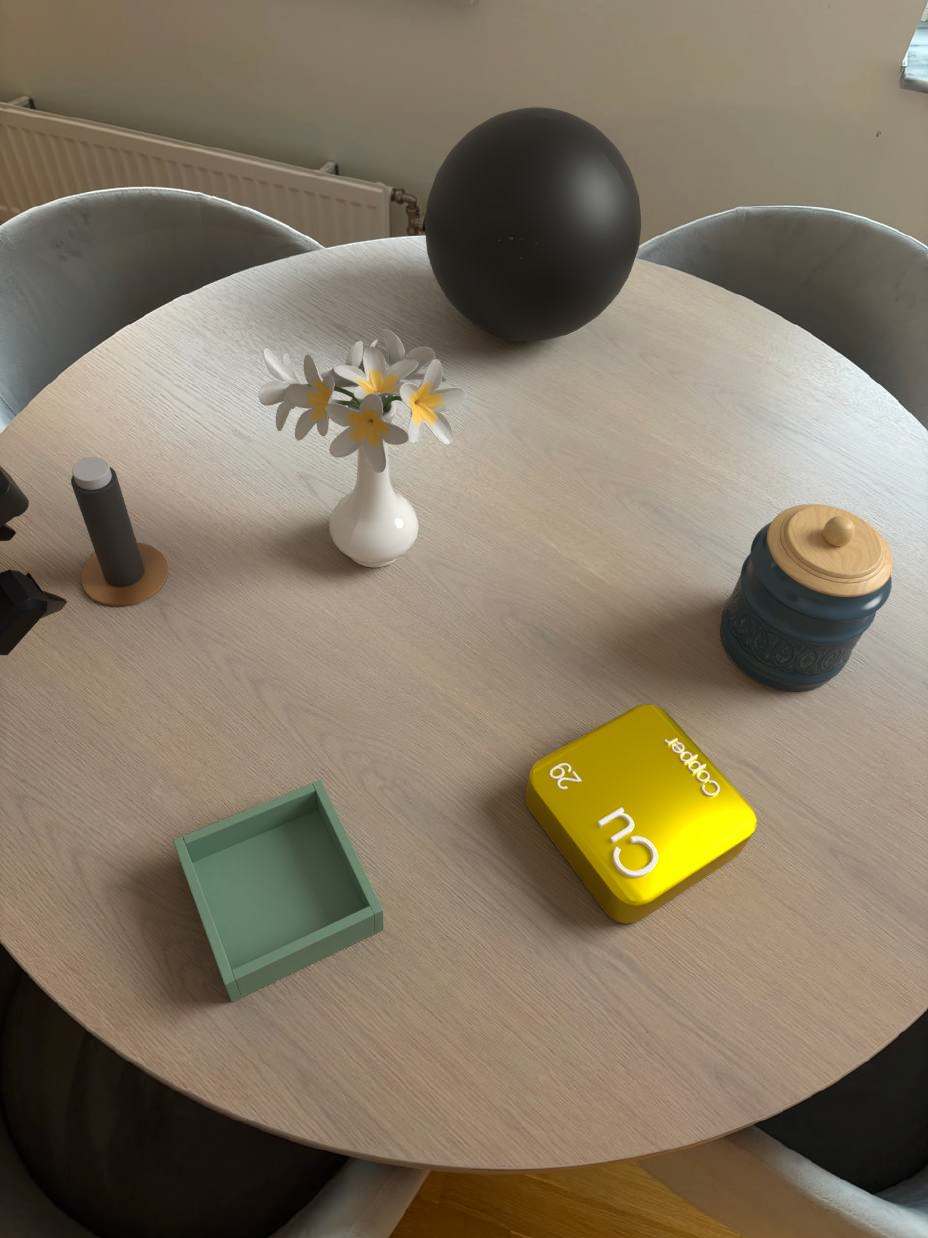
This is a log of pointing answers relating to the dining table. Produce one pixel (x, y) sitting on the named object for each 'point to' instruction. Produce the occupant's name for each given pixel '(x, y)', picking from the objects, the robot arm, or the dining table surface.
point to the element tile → (638, 811)
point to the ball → (533, 224)
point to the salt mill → (107, 521)
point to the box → (278, 888)
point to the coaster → (131, 594)
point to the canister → (805, 596)
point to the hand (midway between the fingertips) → (37, 569)
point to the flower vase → (368, 434)
